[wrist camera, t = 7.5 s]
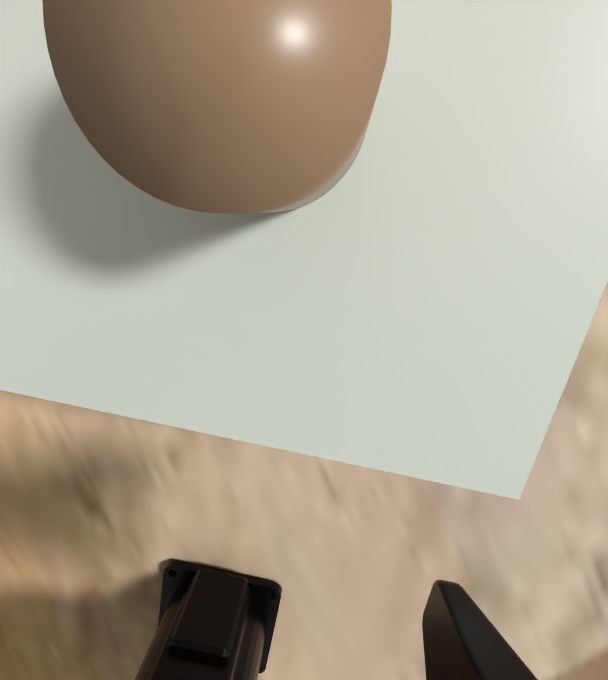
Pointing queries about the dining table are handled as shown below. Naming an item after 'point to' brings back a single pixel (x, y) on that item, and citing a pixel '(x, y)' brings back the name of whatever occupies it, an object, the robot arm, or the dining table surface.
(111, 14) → the panel
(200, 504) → the dining table surface
